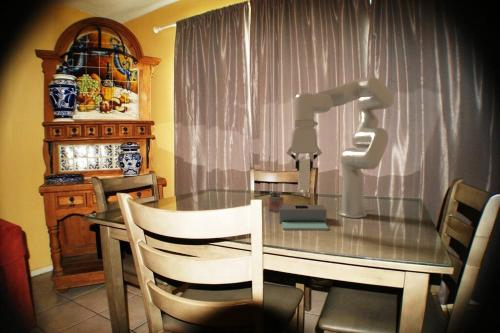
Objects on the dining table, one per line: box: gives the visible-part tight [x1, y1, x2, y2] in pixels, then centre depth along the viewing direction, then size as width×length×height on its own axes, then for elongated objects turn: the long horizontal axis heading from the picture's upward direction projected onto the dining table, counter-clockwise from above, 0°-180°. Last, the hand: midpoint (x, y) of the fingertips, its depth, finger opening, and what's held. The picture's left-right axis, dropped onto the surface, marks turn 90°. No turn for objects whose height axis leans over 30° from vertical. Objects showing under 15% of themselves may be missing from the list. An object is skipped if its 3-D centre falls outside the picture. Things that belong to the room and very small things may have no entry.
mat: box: [281, 222, 329, 231], centre depth 117 cm, size 18×8×1 cm, turn 86°
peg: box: [297, 158, 311, 191], centre depth 116 cm, size 4×4×12 cm
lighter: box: [267, 191, 284, 214], centre depth 142 cm, size 8×3×10 cm, turn 62°
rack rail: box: [278, 204, 328, 224], centre depth 126 cm, size 20×9×6 cm, turn 86°
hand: (304, 170), depth 115 cm, fingers closed on peg, 4 cm apart
